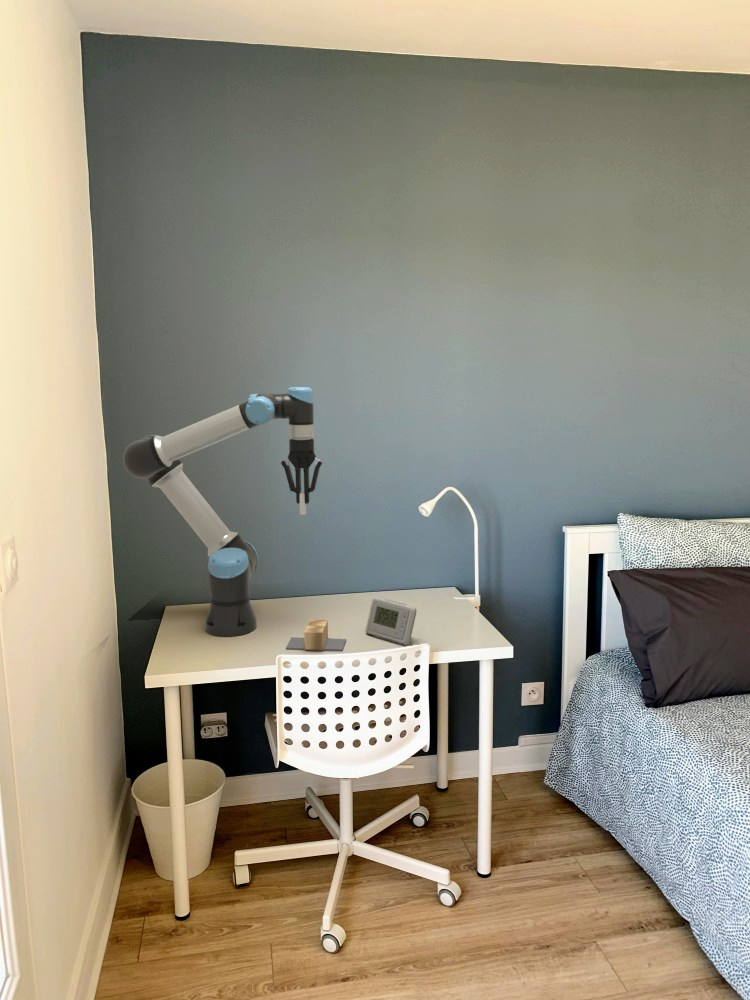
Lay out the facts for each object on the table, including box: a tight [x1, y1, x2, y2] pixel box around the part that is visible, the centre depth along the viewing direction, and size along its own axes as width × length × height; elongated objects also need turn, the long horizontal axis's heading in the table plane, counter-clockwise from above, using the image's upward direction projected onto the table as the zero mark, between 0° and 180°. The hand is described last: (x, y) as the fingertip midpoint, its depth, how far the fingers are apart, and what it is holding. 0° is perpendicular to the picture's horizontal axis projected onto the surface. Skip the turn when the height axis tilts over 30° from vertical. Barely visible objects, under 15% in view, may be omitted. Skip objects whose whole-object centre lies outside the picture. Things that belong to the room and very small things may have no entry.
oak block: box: [304, 619, 329, 651], centre depth 219 cm, size 5×5×10 cm
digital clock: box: [365, 596, 417, 646], centre depth 224 cm, size 16×9×11 cm, turn 38°
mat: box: [285, 637, 347, 652], centre depth 220 cm, size 16×8×1 cm, turn 85°
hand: (303, 513), depth 240 cm, fingers closed
